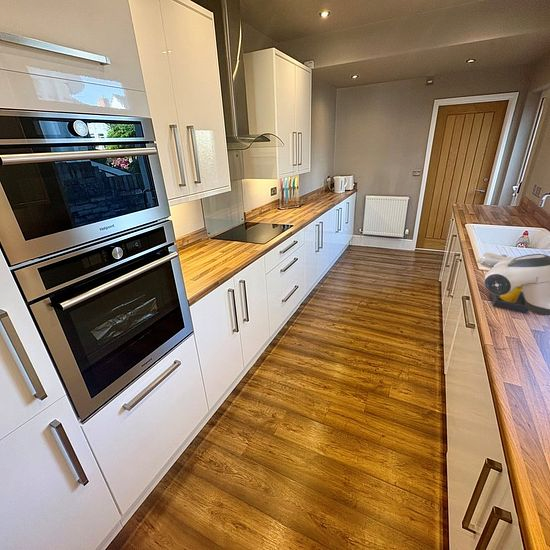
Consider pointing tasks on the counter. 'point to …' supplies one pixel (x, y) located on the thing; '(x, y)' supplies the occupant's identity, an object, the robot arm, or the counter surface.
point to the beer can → (511, 295)
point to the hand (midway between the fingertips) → (519, 260)
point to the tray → (516, 306)
